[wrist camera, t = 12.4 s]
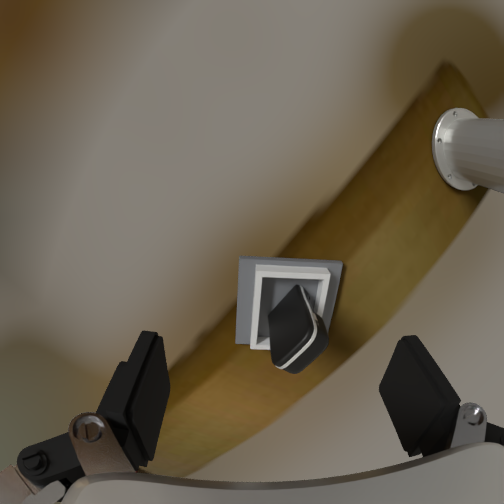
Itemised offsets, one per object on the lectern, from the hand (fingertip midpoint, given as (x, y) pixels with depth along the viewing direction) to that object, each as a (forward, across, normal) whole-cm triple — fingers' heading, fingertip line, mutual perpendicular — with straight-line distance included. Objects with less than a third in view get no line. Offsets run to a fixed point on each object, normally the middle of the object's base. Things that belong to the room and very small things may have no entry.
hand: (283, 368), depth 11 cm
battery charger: (+28, -6, +14) cm, 31 cm away
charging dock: (+28, -5, +14) cm, 32 cm away
